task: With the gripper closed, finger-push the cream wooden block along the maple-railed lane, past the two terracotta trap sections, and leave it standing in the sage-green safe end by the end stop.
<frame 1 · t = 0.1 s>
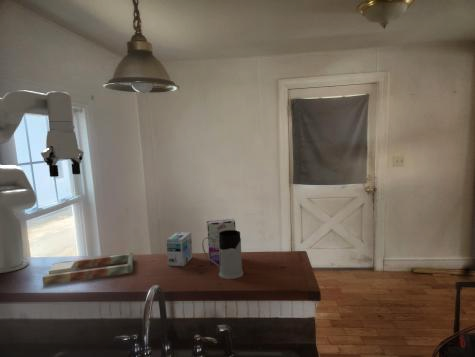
hand: (65, 175, 110), 37 cm above the worktop, tool pointing down, fingers open, 9 cm apart
candy bar box: (222, 261, 122), on the worktop
light bulb box: (180, 261, 123), on the worktop
trap lane: (92, 271, 115), on the worktop
white pitcher: (223, 274, 109), on the worktop
cream block: (63, 276, 112), on the worktop
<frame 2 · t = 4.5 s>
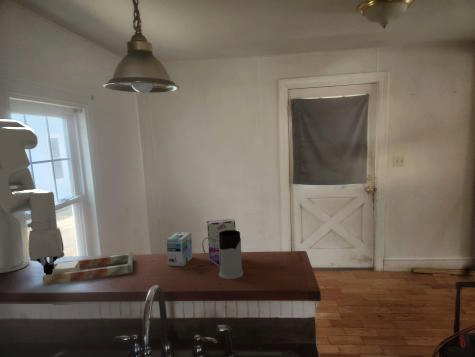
hand: (49, 274, 111), 1 cm above the worktop, tool pointing down, fingers closed
cream block: (67, 275, 113), on the worktop
everything else where it was.
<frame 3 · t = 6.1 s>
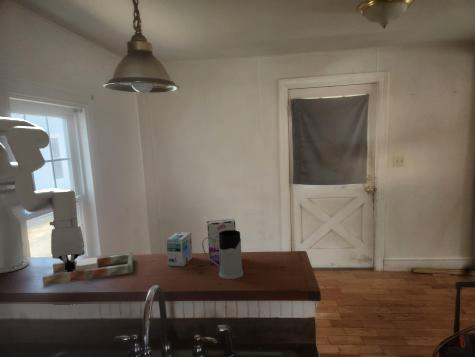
hand: (70, 271, 113), 1 cm above the worktop, tool pointing down, fingers closed
cream block: (87, 271, 116), on the worktop
everything else where it was.
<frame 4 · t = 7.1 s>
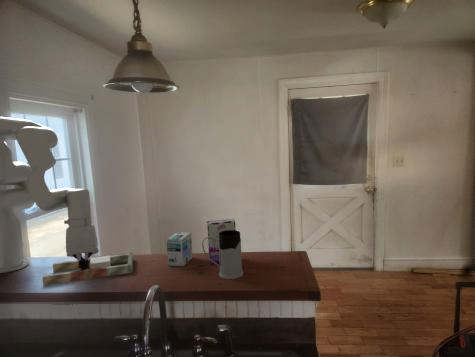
hand: (84, 269, 114), 1 cm above the worktop, tool pointing down, fingers closed
cream block: (101, 269, 118), on the worktop, touching gripper
everything else where it was.
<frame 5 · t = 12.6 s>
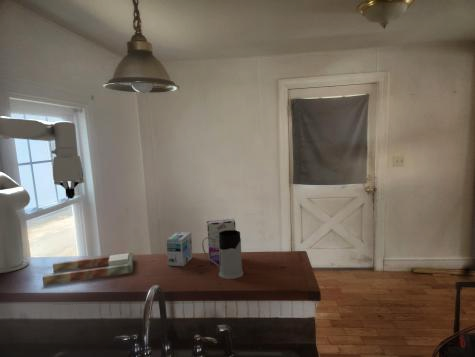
hand: (70, 198, 123), 27 cm above the worktop, tool pointing down, fingers closed
cream block: (119, 266, 120), on the worktop
everything else where it was.
at the end: cream block 2.0 cm from the target spot, on the worktop; cream block tilted 0° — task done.
